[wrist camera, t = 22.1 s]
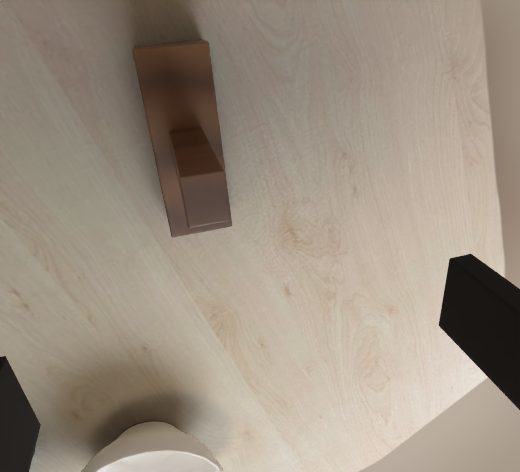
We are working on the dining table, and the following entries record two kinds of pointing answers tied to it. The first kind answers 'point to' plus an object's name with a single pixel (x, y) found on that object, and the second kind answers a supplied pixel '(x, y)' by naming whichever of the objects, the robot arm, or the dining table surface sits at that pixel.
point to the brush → (185, 133)
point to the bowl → (154, 452)
